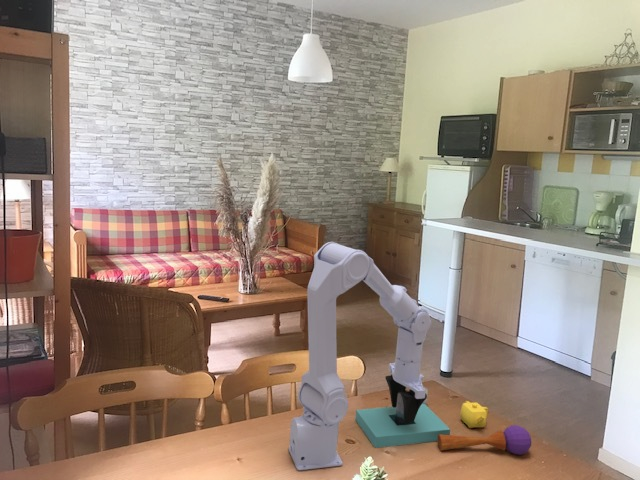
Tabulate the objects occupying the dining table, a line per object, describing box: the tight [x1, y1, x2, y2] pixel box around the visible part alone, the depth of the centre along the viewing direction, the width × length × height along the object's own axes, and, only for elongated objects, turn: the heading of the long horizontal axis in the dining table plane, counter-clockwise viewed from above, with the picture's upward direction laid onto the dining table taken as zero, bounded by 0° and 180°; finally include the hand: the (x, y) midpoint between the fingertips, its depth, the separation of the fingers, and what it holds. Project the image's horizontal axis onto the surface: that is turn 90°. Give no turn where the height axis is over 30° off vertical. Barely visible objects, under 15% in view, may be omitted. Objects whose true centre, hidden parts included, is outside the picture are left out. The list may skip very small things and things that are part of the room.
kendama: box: [437, 424, 532, 456], centre depth 115 cm, size 6×6×20 cm
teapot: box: [459, 400, 489, 429], centre depth 125 cm, size 8×6×5 cm
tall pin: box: [395, 389, 409, 426], centre depth 120 cm, size 3×3×9 cm
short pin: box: [422, 386, 429, 406], centre depth 133 cm, size 3×3×4 cm
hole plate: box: [354, 404, 451, 449], centre depth 121 cm, size 18×12×2 cm, turn 107°
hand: (402, 413), depth 120 cm, fingers open, 6 cm apart
